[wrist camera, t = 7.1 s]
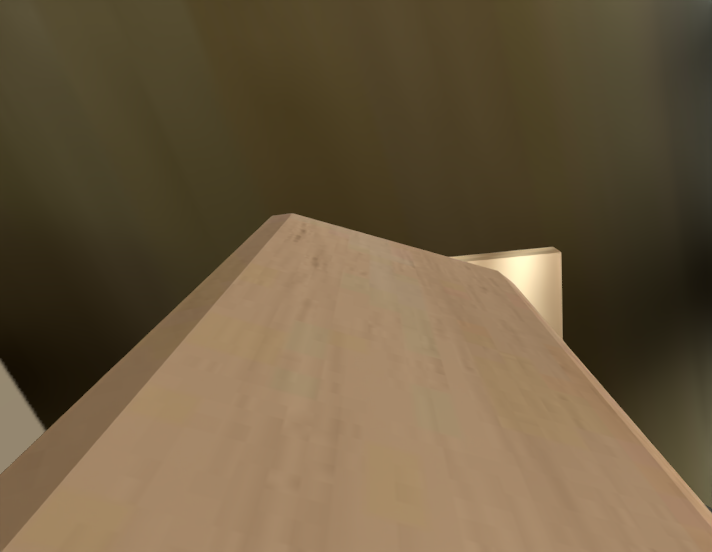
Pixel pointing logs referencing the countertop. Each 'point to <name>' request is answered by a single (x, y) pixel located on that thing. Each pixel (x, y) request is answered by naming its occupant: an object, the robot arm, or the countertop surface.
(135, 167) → the countertop surface
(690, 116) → the countertop surface
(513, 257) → the board
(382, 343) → the block
